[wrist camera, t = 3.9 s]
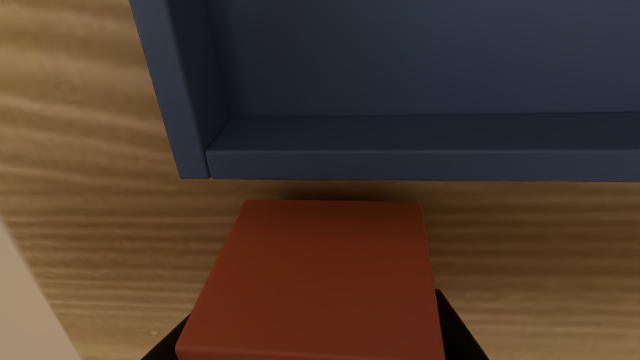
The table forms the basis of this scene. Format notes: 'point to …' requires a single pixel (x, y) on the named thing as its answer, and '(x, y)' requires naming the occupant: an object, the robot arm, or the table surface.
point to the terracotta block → (319, 286)
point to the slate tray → (397, 88)
